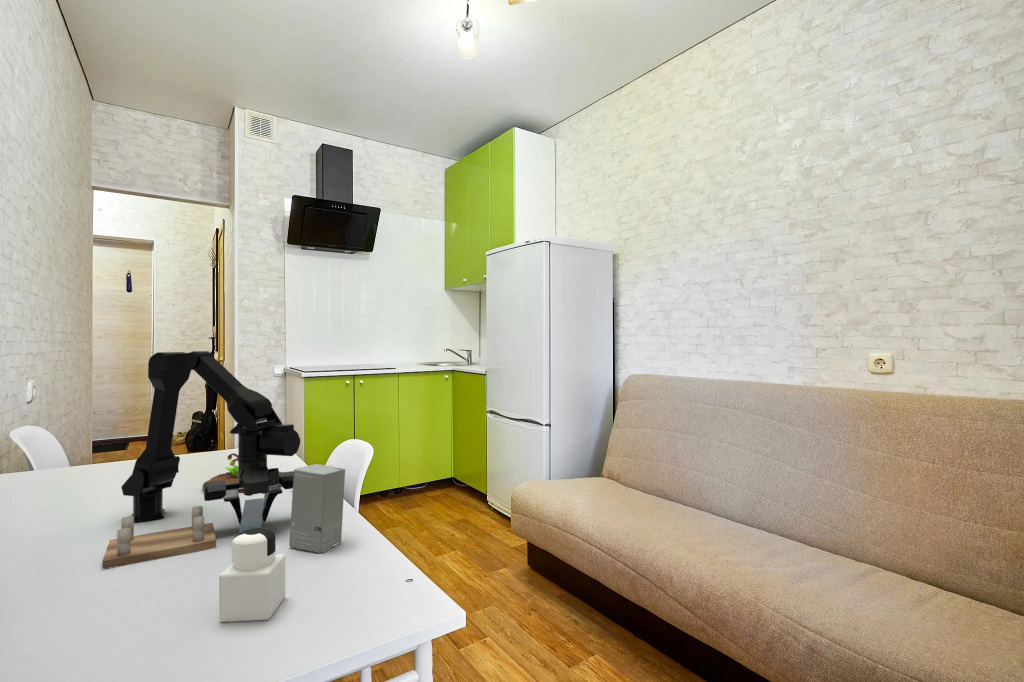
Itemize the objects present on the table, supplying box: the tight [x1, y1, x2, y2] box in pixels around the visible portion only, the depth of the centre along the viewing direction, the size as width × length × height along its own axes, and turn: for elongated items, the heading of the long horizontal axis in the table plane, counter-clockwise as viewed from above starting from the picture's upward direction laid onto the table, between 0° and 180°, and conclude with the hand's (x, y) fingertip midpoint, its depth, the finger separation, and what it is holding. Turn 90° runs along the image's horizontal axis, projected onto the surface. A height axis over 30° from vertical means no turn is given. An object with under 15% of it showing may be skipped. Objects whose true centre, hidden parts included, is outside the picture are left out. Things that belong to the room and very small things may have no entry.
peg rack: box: [101, 505, 217, 570], centre depth 103 cm, size 12×18×6 cm, turn 123°
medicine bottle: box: [219, 527, 286, 623], centre depth 78 cm, size 7×7×12 cm
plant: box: [202, 452, 282, 494], centre depth 149 cm, size 20×20×11 cm
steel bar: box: [239, 497, 264, 533], centre depth 113 cm, size 20×4×4 cm, turn 25°
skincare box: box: [288, 463, 346, 554], centre depth 104 cm, size 8×7×16 cm
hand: (252, 523), depth 113 cm, fingers closed on steel bar, 4 cm apart
